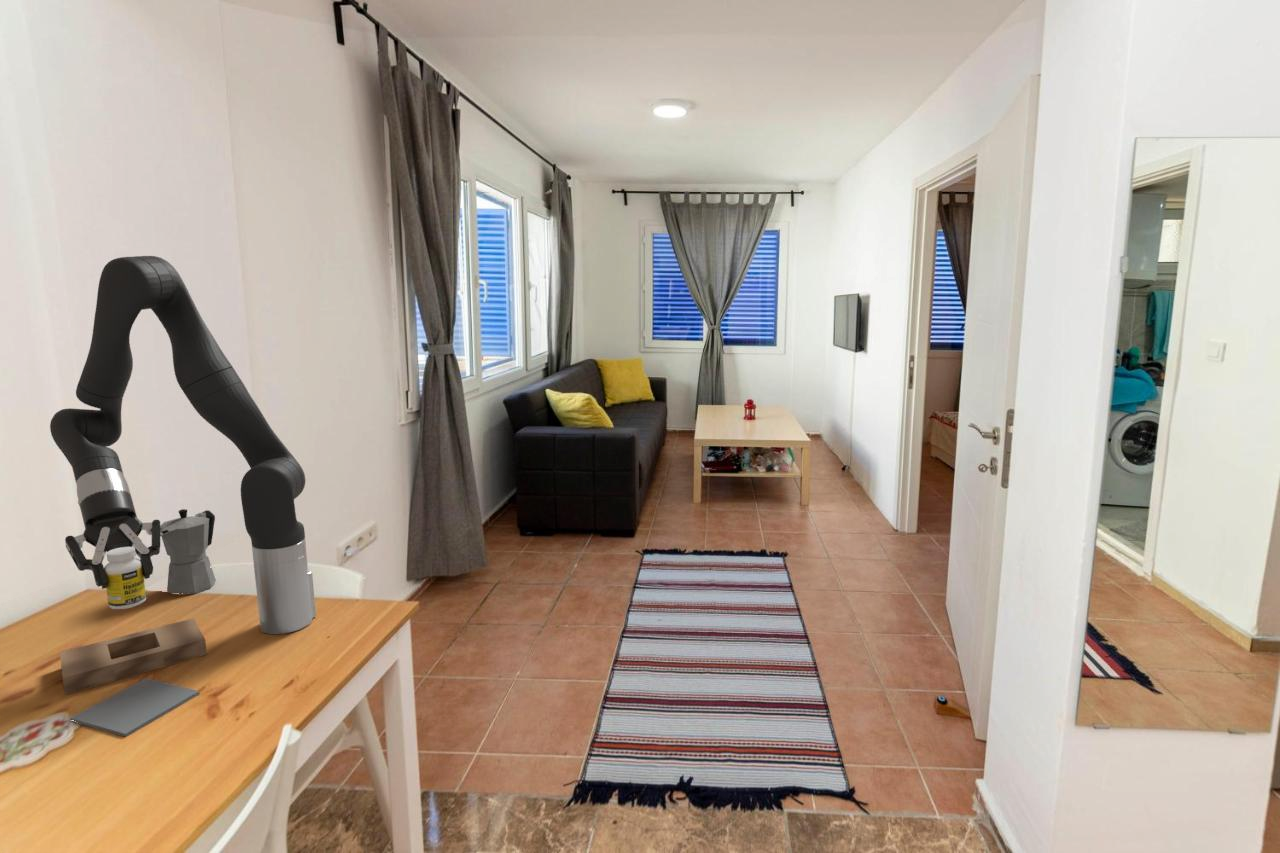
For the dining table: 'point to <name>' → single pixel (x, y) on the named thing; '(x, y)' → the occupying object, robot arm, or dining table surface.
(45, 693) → the dining table surface
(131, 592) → the supplement bottle
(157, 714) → the slate pad
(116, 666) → the bottle holder tray
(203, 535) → the coffeepot
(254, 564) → the robot arm
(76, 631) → the dining table surface
